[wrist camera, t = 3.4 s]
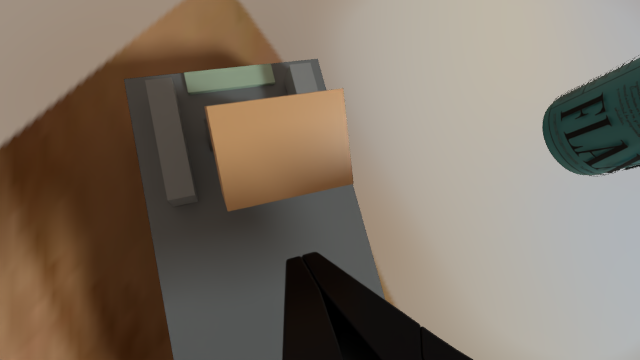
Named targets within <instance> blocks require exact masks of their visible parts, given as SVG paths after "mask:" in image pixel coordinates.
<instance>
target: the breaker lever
mask: <svg viewBox="0 0 640 360" xmlns="http://www.w3.org/2000/svg"><path fill="white" fill-rule="evenodd" d="M204 108H205V113H206V118H204V124H205V129H206V134H207V138H208V143H209V148H210V152H212V151H213V152H214V157H215V162H216V166H217V171H218V176H219V181H220V186H221V191H222V194H223V198H224V201H225V204H226V207H227V211H233V210H237V209H242V208H247V207H251V206H256V205H260V204H265V203H269V202H274V201H278V200H283V199H287V198H292V197H296V196H301V195H305V194H310V193H314V192H319V191H323V190H328V189H332V188H337V187H341V186H346V185H350V184H353V175H352V166H351V156H350V147H349V138H348V128H347V119H346V110H345V100H344V91H343V88H342V89H334V90H325V91H316V92H309V93H301V94H294V95H286V96H279V97H271V98H264V99H256V100H248V101H241V102H233V103H226V104H218V105H211V106H204Z"/></svg>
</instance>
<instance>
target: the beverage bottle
mask: <svg viewBox="0 0 640 360" xmlns="http://www.w3.org/2000/svg"><path fill="white" fill-rule="evenodd" d="M623 65H624V64H623ZM623 65H622V66H621V67H620V68H619V67H618V69H616V70H614V71H612V72H609V73H608V74H607V73H606V74H605V75H604V76H602V77H600V78H598V79H596V80H594V81H592V82H590V83H589V82H588V83H587V84H586V85H584V86H583V85H582V86H581V87H580V88H578V89H575V90H574V91H571V92H570V93H567V94H566V95H563V96H562V95H561V97H560V98H558V99H557V100H556V101H555V102H553V104H551V105H550V107H549V108H548V109H547V111H546V112H545V115H544V119H543V135H544V140H545V142H546V145H547V147H548V149H549V151H550V152H551V154H552V155H553V157H554V158H555V159H556V160H557V162H559V163H560V164H561V165H562V166H563V167H564V168H566V169H567V170H569V171H571V172H573V173H576V174H580V175H599V174H600V175H601V174H602V173H612V172H613V171H617V170H620V169H623V168H625V169H626V170H627V169H630V168H633V167H638V166H640V165H639V164H640V58H639V59H636V60H634V61H633V60H632V61H631V62H630V63H628V64H626V65H624V66H623ZM635 165H636V166H635ZM631 166H632V167H631Z"/></svg>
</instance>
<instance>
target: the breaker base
mask: <svg viewBox="0 0 640 360" xmlns="http://www.w3.org/2000/svg"><path fill="white" fill-rule="evenodd" d="M124 82H125V88H126V93H127V99H128V104H129V110H130V116H131V121H132V127H133V133H134V138H135V144H136V150H137V155H138V161H139V167H140V172H141V178H142V183H143V189H144V195H145V200H146V206H147V212H148V217H149V223H150V229H151V234H152V240H153V245H154V251H155V257H156V262H157V268H158V274H159V279H160V285H161V291H162V296H163V302H164V307H165V313H166V319H167V324H168V330H169V336H170V341H171V347H172V353H173V358H174V360H282V348H283V322H284V295H285V269H286V260H287V259H289V258H293V257H296V256H301V257H302V255H304V254H307V253H311V252H318V253H320V254H321V255H322V256H324V257H325V258H327V259H328V260H329V261H331V262H332V263H334V264H335V265H337V266H338V267H339V268H341V269H342V270H344V271H345V272H346V273H348V274H349V275H351V276H352V277H354V278H355V279H356V280H358V281H359V282H361V283H362V284H363V285H365V286H366V287H368V288H369V289H370V290H372V291H373V292H375V293H376V294H378V295H379V296H380V297H382V298H383V299H385V297H384V294H383V290H382V287H381V283H380V280H379V276H378V273H377V269H376V265H375V262H374V258H373V255H372V251H371V248H370V244H369V241H368V237H367V233H366V230H365V226H364V223H363V219H362V216H361V212H360V208H359V205H358V201H357V198H356V195H355V191H354V187H353V184H350V185H346V186H341V187H337V188H332V189H328V190H323V191H319V192H314V193H310V194H305V195H301V196H296V197H292V198H287V199H283V200H278V201H274V202H269V203H265V204H260V205H256V206H251V207H247V208H242V209H237V210H233V211H227V207H226V204H225V201H224V198H223V194H222V191H221V186H220V181H219V176H218V171H217V166H216V162H215V157H214V152H213V151H212V152H210V148H209V143H208V138H207V134H206V129H205V124H204V118H206V113H205V108H204V106H211V105H218V104H226V103H233V102H241V101H248V100H256V99H264V98H271V97H279V96H286V95H294V94H301V93H309V92H316V91H325V90H326V87H325V84H324V80H323V77H322V73H321V70H320V66H319V62H318V59H311V60H302V61H293V62H283V63H273V64H261V65H251V66H242V67H232V68H223V69H213V70H203V71H194V72H184V73H177V74H168V75H158V76H149V77H139V78H130V79H124Z"/></svg>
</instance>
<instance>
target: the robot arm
mask: <svg viewBox="0 0 640 360" xmlns="http://www.w3.org/2000/svg"><path fill="white" fill-rule="evenodd" d="M282 360H473V359H471V358H470V357H468V356H466V355H465V354H463V353H461V352H460V351H458V350H456V349H455V348H454V347H452V346H450V345H449V344H448V343H446V342H445V341H443V340H442V339H440V338H439V337H437V336H436V335H434V334H433V333H431V332H430V331H428V330H427V329H426V328H424V327H420V325H419V323H417V322H416V321H414V320H413V319H411V318H410V317H409V316H407V315H406V314H404V313H403V312H402V311H400V310H399V309H397V308H396V307H394V306H393V305H392V304H390V303H389V302H387V301H386V300H385V299H383V298H382V297H380V296H379V295H378V294H376V293H375V292H373V291H372V290H370V289H369V288H368V287H366V286H365V285H363V284H362V283H361V282H359V281H358V280H356V279H355V278H354V277H352V276H351V275H349V274H348V273H346V272H345V271H344V270H342V269H341V268H339V267H338V266H337V265H335V264H334V263H332V262H331V261H329V260H328V259H327V258H325V257H324V256H322V255H321V254H320V253H318V252H311V253H307V254H304V255H302V257H301V256H296V257H293V258H289V259H287V260H286V269H285V295H284V322H283V348H282Z"/></svg>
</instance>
